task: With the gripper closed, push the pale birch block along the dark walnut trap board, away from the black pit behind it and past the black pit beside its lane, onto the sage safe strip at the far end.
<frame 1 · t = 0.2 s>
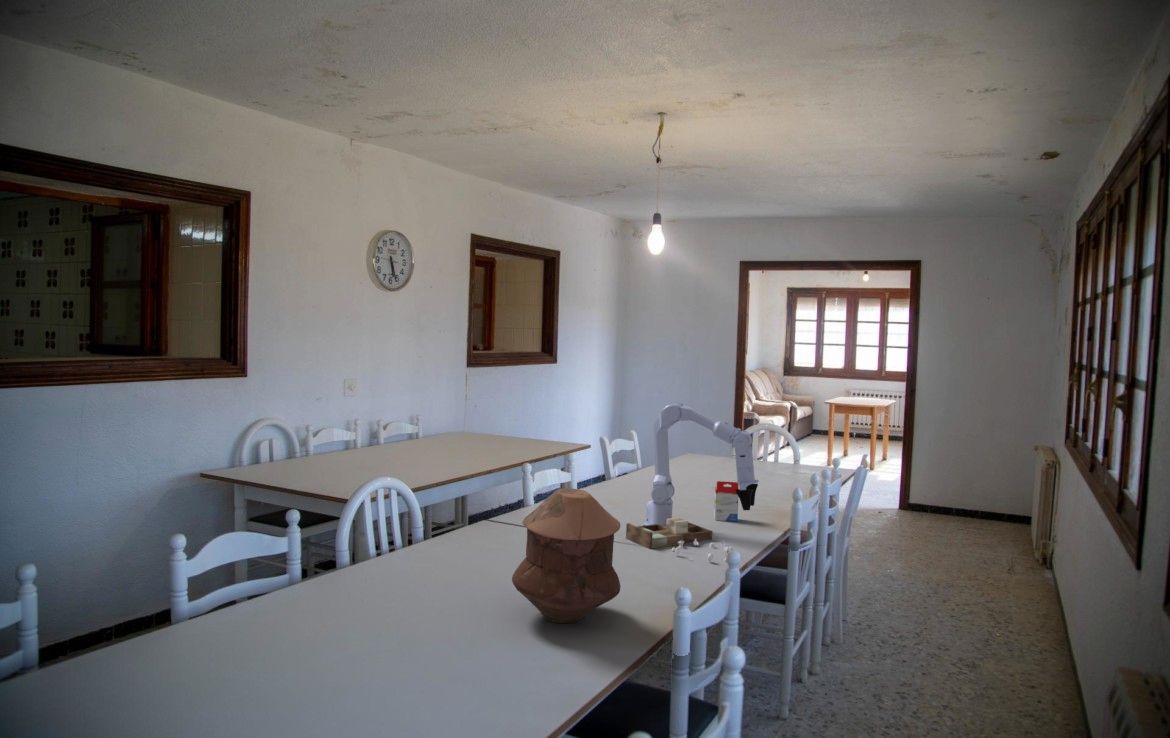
hand: (748, 507, 258), 11 cm above the table, tool pointing down, fingers open, 7 cm apart
game piece set: (702, 555, 238), on the table
birch block: (676, 531, 252), point 3 cm above the table, touching trap board
trap board: (669, 539, 254), on the table
pottery vessel: (565, 616, 181), on the table
ink box: (725, 520, 285), on the table
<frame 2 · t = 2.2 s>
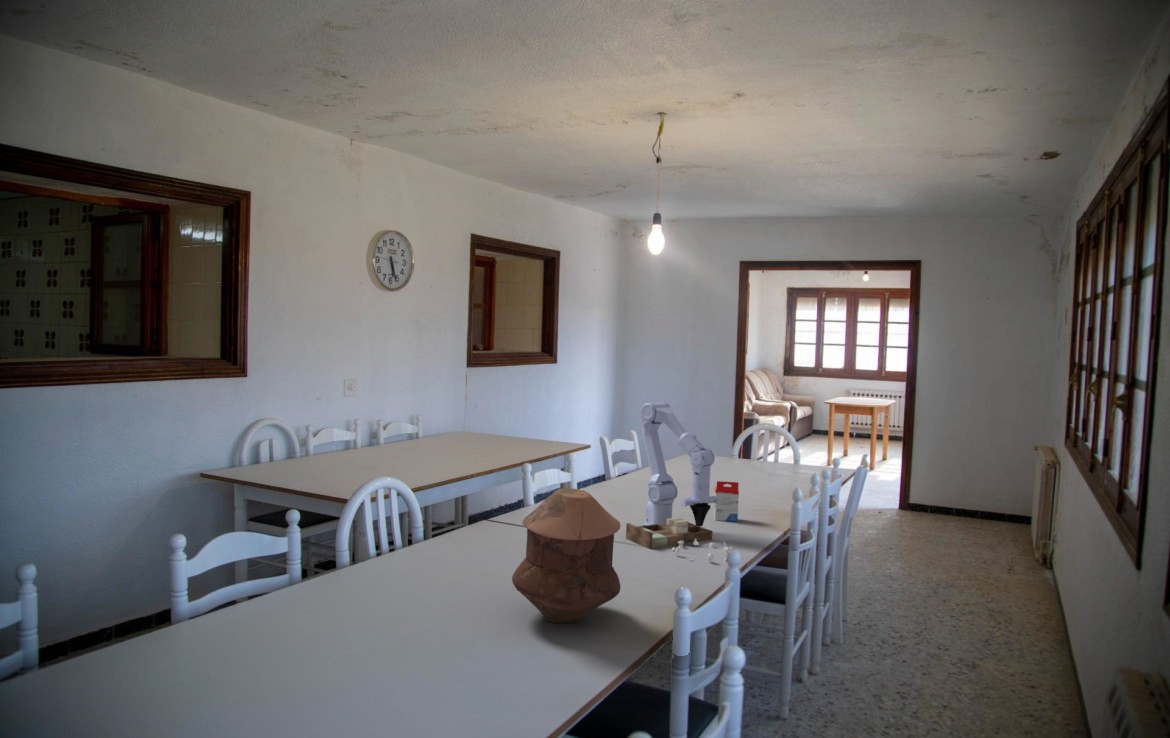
hand: (699, 525, 257), 4 cm above the table, tool pointing down, fingers closed
nothing on the table moved.
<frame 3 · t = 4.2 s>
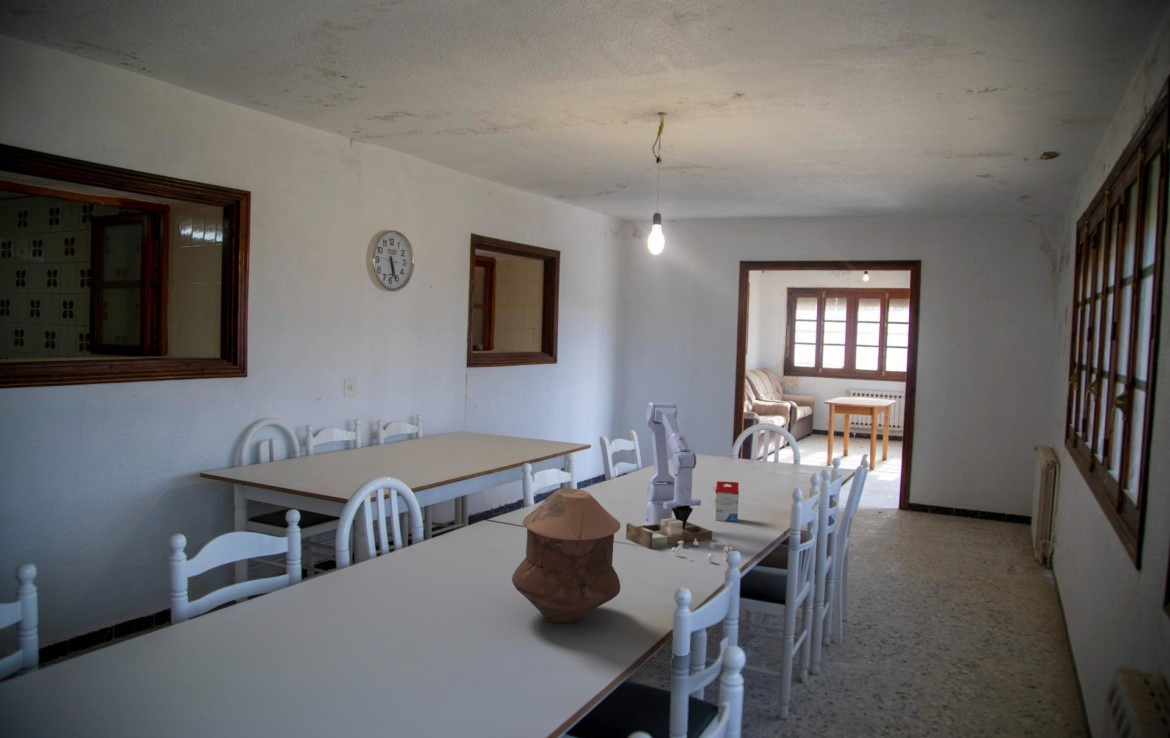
hand: (681, 528, 253), 4 cm above the table, tool pointing down, fingers closed
birch block: (671, 532, 251), point 3 cm above the table
everything else where it was.
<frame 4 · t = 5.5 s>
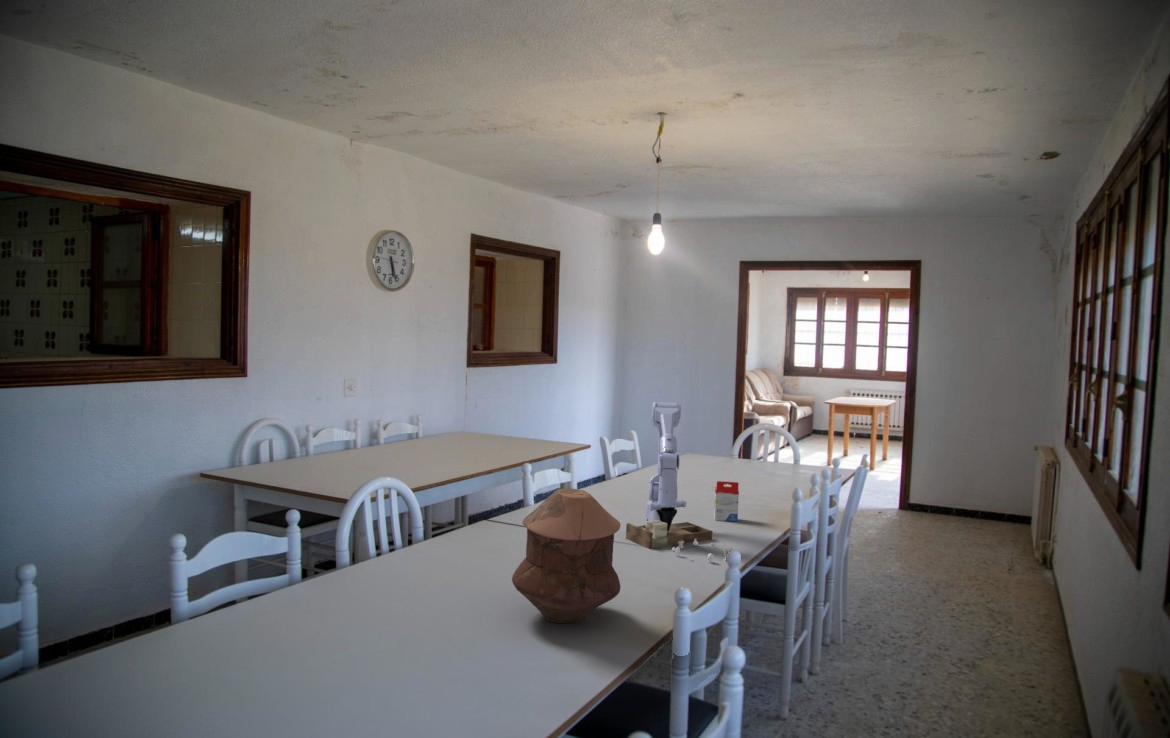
hand: (665, 530, 249), 4 cm above the table, tool pointing down, fingers closed
birch block: (655, 534, 247), point 3 cm above the table, touching trap board
everything else where it was.
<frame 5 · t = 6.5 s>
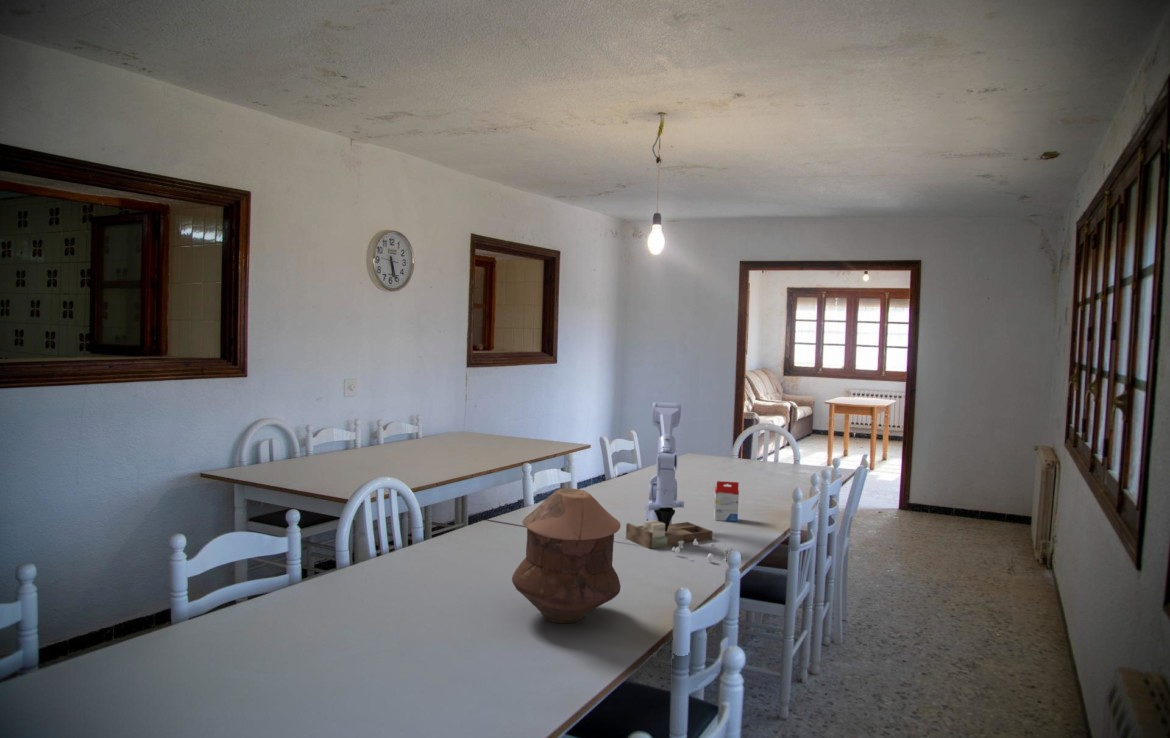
hand: (663, 530, 249), 4 cm above the table, tool pointing down, fingers closed
birch block: (653, 534, 247), point 3 cm above the table, touching gripper, trap board
everything else where it was.
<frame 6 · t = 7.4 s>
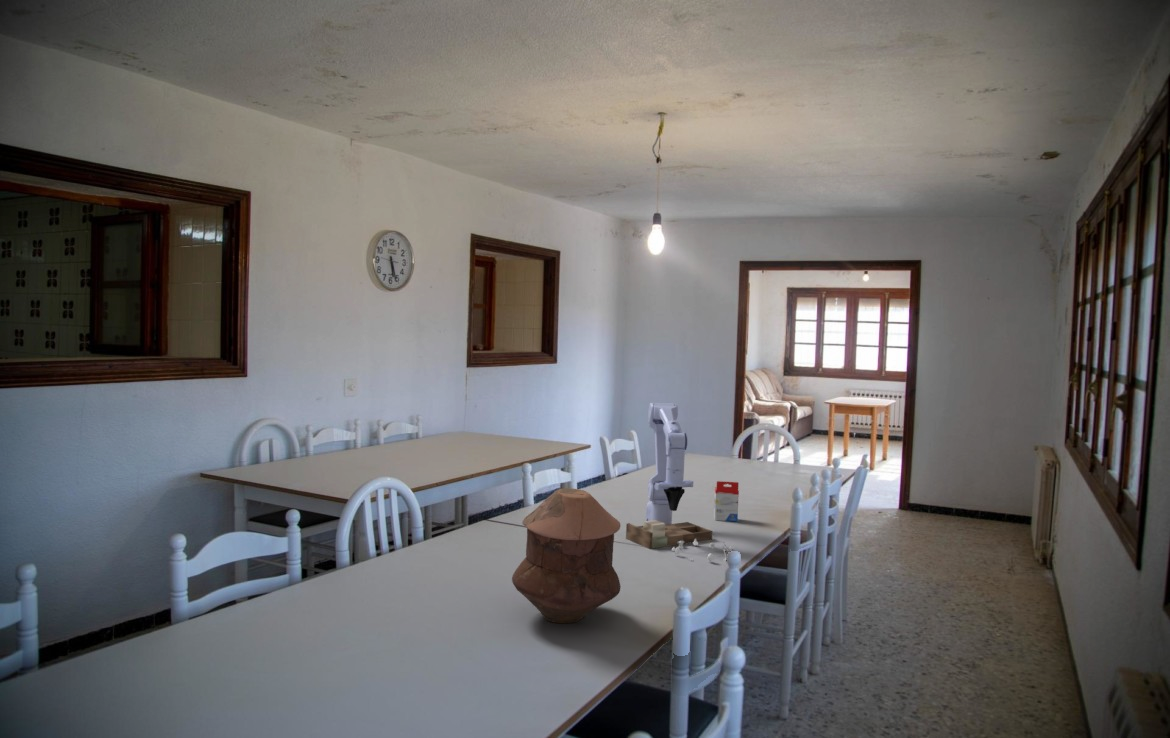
hand: (673, 510, 251), 10 cm above the table, tool pointing down, fingers closed
birch block: (653, 534, 247), point 3 cm above the table, touching trap board
everything else where it was.
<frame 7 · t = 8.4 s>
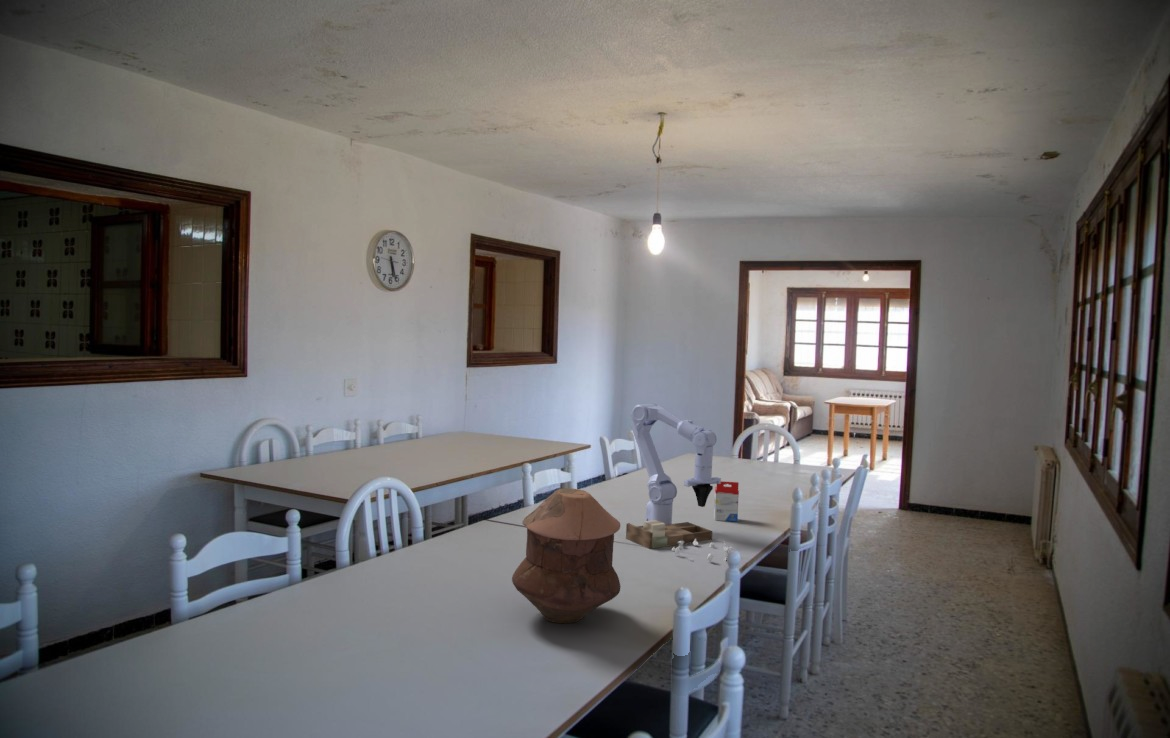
hand: (701, 506, 258), 10 cm above the table, tool pointing down, fingers closed
nothing on the table moved.
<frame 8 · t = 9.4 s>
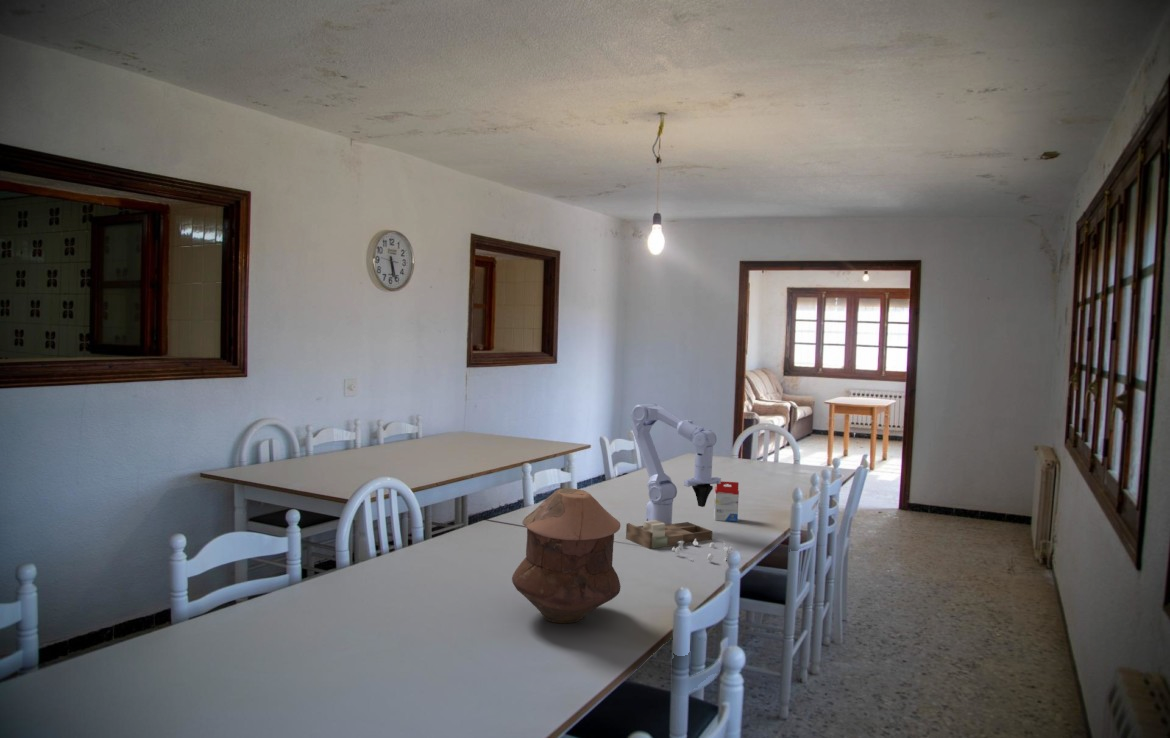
hand: (701, 506, 258), 10 cm above the table, tool pointing down, fingers closed
nothing on the table moved.
at the end: birch block 0.4 cm from the target spot, point 3.0 cm above the table; birch block tilted 0° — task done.
